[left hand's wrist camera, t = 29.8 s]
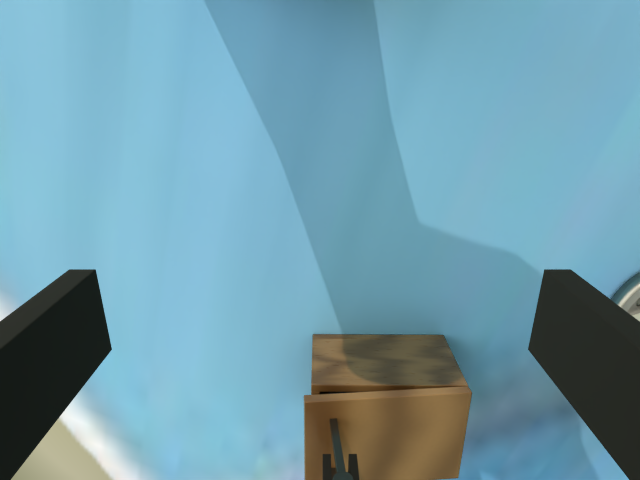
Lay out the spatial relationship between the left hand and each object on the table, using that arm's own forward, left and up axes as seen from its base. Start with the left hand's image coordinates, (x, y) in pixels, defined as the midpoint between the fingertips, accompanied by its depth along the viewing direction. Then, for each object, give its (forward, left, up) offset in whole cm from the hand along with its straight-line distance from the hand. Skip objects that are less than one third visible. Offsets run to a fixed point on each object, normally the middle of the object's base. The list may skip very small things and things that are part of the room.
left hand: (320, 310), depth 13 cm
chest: (+10, -26, -31) cm, 42 cm away
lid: (+10, -26, -22) cm, 35 cm away
